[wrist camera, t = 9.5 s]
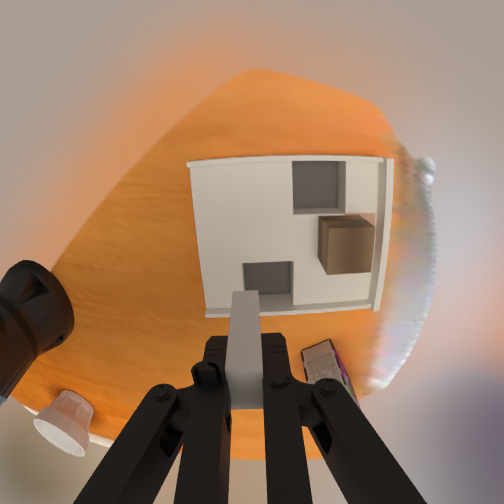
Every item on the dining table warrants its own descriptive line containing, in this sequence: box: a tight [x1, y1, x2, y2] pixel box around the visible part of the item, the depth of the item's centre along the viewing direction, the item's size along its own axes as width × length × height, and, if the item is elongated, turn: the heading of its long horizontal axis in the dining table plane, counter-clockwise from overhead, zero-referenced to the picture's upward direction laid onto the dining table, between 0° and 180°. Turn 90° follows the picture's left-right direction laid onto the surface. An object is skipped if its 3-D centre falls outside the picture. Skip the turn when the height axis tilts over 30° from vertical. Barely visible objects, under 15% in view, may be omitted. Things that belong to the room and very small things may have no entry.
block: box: [318, 215, 375, 275], centre depth 27 cm, size 4×4×4 cm
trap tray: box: [186, 154, 394, 318], centre depth 30 cm, size 20×17×5 cm
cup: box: [34, 390, 94, 456], centre depth 41 cm, size 12×12×11 cm
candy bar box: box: [301, 339, 361, 410], centre depth 32 cm, size 11×5×16 cm, turn 28°
